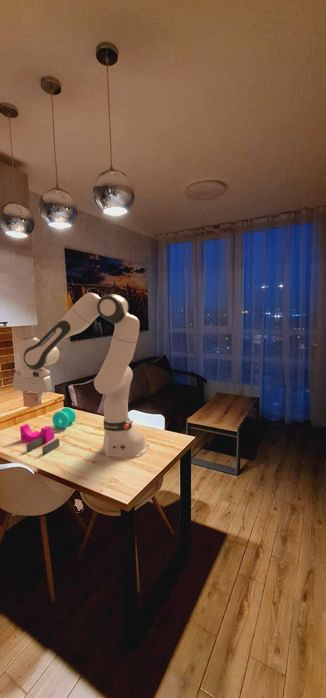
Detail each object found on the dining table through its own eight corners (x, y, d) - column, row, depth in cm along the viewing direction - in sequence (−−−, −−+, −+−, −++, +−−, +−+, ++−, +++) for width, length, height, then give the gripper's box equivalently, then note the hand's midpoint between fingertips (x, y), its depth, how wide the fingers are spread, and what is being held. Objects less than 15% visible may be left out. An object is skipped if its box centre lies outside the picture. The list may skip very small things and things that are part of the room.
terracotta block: (41, 404, 142) (40, 392, 142) (30, 407, 137) (29, 395, 137) (34, 402, 145) (33, 390, 144) (23, 406, 140) (22, 393, 139)
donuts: (51, 429, 164) (50, 411, 163) (61, 422, 174) (60, 406, 173) (67, 430, 162) (66, 412, 161) (77, 423, 172) (76, 407, 171)
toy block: (54, 438, 152) (53, 424, 151) (46, 443, 146) (45, 429, 145) (29, 436, 155) (28, 422, 154) (21, 441, 149) (20, 426, 148)
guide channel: (59, 445, 143) (59, 438, 142) (44, 455, 133) (44, 447, 133) (42, 442, 146) (41, 436, 146) (26, 451, 137) (26, 444, 136)
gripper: (8, 371, 140) (10, 400, 142) (43, 373, 133) (45, 403, 135) (19, 369, 146) (21, 396, 147) (52, 371, 139) (54, 399, 141)
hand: (33, 400), depth 141 cm, fingers closed on terracotta block, 5 cm apart
